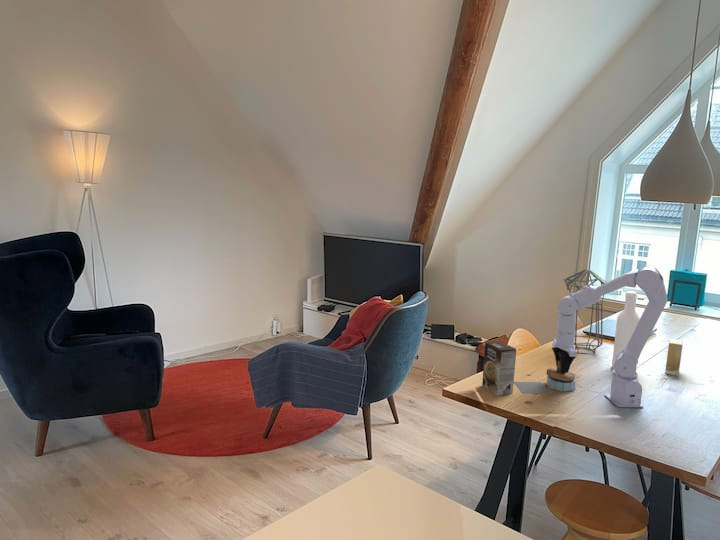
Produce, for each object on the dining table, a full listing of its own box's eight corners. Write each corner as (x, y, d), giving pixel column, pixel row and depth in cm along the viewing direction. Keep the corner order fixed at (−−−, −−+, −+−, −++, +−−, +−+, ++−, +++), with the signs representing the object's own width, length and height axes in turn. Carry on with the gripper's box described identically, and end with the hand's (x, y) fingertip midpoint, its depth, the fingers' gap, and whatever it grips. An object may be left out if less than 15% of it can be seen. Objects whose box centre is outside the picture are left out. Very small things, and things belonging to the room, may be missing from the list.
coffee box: (481, 387, 176) (484, 341, 174) (497, 385, 178) (500, 340, 176) (497, 398, 168) (500, 350, 165) (513, 395, 170) (517, 348, 167)
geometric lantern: (607, 358, 210) (614, 273, 204) (566, 356, 213) (572, 272, 207) (596, 346, 226) (602, 266, 220) (558, 344, 228) (563, 266, 222)
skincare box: (665, 369, 199) (669, 338, 197) (678, 371, 197) (682, 340, 195) (665, 374, 194) (669, 342, 192) (678, 376, 191) (682, 344, 189)
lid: (579, 381, 173) (581, 366, 172) (552, 380, 172) (555, 365, 171) (567, 372, 181) (569, 357, 181) (542, 370, 181) (544, 356, 180)
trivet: (552, 395, 170) (552, 393, 170) (522, 395, 170) (522, 393, 170) (541, 384, 180) (541, 382, 180) (513, 383, 180) (513, 381, 180)
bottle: (606, 367, 200) (615, 290, 195) (620, 364, 203) (628, 289, 198) (625, 374, 193) (634, 294, 188) (639, 371, 196) (648, 293, 191)
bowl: (579, 393, 173) (580, 383, 173) (552, 392, 173) (553, 383, 172) (568, 383, 182) (569, 373, 181) (542, 382, 182) (543, 373, 181)
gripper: (546, 325, 181) (542, 362, 184) (562, 337, 167) (559, 378, 169) (566, 326, 181) (562, 363, 184) (584, 338, 167) (580, 378, 169)
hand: (562, 370), depth 176 cm, fingers closed on lid, 3 cm apart
